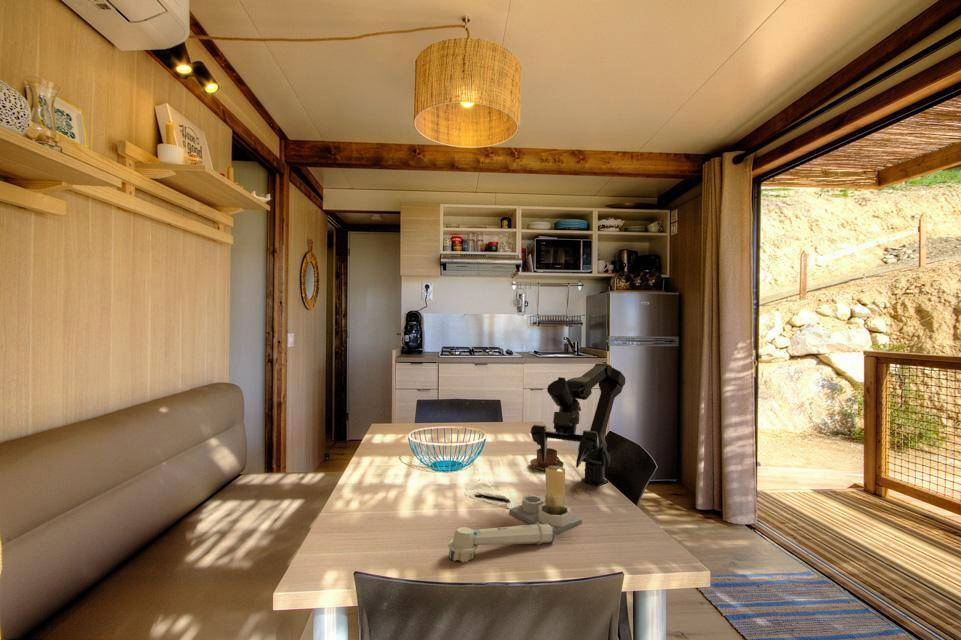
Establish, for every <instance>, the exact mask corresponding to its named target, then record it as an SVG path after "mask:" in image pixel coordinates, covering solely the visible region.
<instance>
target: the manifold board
mask: <svg viewBox="0 0 961 640" xmlns="http://www.w3.org/2000/svg"><path fill="white" fill-rule="evenodd" d="M521 503H522V504H521V505H517V506H514V507H512V508H510V509H508V510H509V511H508V513H510V514H511V515H513V516H515V517H516V518H518V519H520V520H522V521H525V522H526V523H528V524H529V525H534V524H536V523H539V524H551V525H552V526H553V527H554V531H555V536H556V535H559V534H560V533H562V532H565V531H567V530H570V529H572V528H574V527H577V526H578V525H581V524H582V523H583V519H582V518H580V517H577V516H575V515H573V514H572V511H571V507H570V506H567V505H565V514H562V515H550V514H548V513H546V512H545V502H544V498H543V497H542V496H539V495H534V494H527V495H524V496H522V502H521Z"/></svg>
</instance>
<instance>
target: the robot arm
mask: <svg viewBox="0 0 961 640" xmlns="http://www.w3.org/2000/svg"><path fill="white" fill-rule="evenodd" d="M597 384H598V385H597ZM625 384H626V377H625V375H624V374H623V373H622V372H621V371H620V370H618V369H616V368H614V367H613V366H612V365H610V364H609V363H600V362H599V363H596V364H595V365H594V366H593V367H592V368H590V369H589V370H587V372H584V374H583V375H581V376H579V377H572V378H569V379H566V378H565V377H562V376H561V377H557V379H556V380H553V381H551V383H550V384H548V386H547V393H548V394H549V396H550V398H551V399H552V400H553V403H554V404H555V405H556V406H557V407H559V409H558V411H554V413H553V421H552V423H553V430H554V431H552V430H551V431H550V430H547V426H546V425H539V424H534V425H532V426H531V428H530V435H531V438H532V441H533V442H534V443H536V445H538V446H540V448H541V454H542V461H543V463H544V462H545V459H546V451H547V448H548V443H547V442H548V439H553V440H554V439H555V440H563V441H569V442H577V443H579V445H578V449H577V451H578V453H577V454H578V455H577V458H576V463H575V468H579V467H580V465H581V464H582V463H584V477H582V478H581V481H582V482H585V483H587V484H589V485H591V486H592V485H593V486H595V487H597V486H598V487H599V486H601V485H605V484H607V483H609V479H606V478H605V472H606V471H605V467H609V466H610V464H611V455H610V454H609V452H608V450H607V448H608V445H607V441H606V439H605V435H606V431H607V427H608V424H609V420H610V417H611V413H612V409H613V405H614V402H615V399H616V397H618V396H619V395H620V394H621V393H622V392H623V389H624V387H625ZM596 385H597V386H598V388H599V391H600V395H599V397H598V401H597V405H596V409H595V412H594V415H593V419H592V422H591V425H590V429H589V430H583V431H582V434H576V431H577V425H579V424H580V412H581V411H582V408H581V405H580V401H578V400H582V401H586V400H588V398H589V397H590V396H591V395H592V389H593V388H594V387H595V386H596Z"/></svg>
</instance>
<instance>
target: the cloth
mask: <svg viewBox="0 0 961 640" xmlns="http://www.w3.org/2000/svg"><path fill="white" fill-rule="evenodd" d="M464 496H466V497H469V498H471V499H473V500H477V501H481V502H484V503H487V504H491V505H495V506H498V507H502V508H505V509H508V510H509V509H511V508H510V506H509V505H508V503H506V501H509V502H511V500H510V499H509V498H508V497H507V495H505V494H504V492H503V491H501V490H498V489H497V488H496V487H494V486H492V485H491V483H489V481H487V480H486V479H485V480H484V479H478V480H476V479H475V478H474V477H472V478H471V479H470V481H469V483H468V484H467V486H466V487H465V491H464ZM500 499H501V500H500Z"/></svg>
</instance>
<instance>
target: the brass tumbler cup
mask: <svg viewBox="0 0 961 640" xmlns="http://www.w3.org/2000/svg"><path fill="white" fill-rule="evenodd" d="M544 481H545V484H544V485H545V488H544V490H545V491H544V492H545V495H544V498H545V499H544V501H545V512H546V513H548V514H550V515H562V514H565V506H566V505H565V501H566V500H565V498H566V497H565V495H566V485H565V484H566V468H565V467H564V466H563V467H560V466H547V467H546V471H545V480H544Z"/></svg>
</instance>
